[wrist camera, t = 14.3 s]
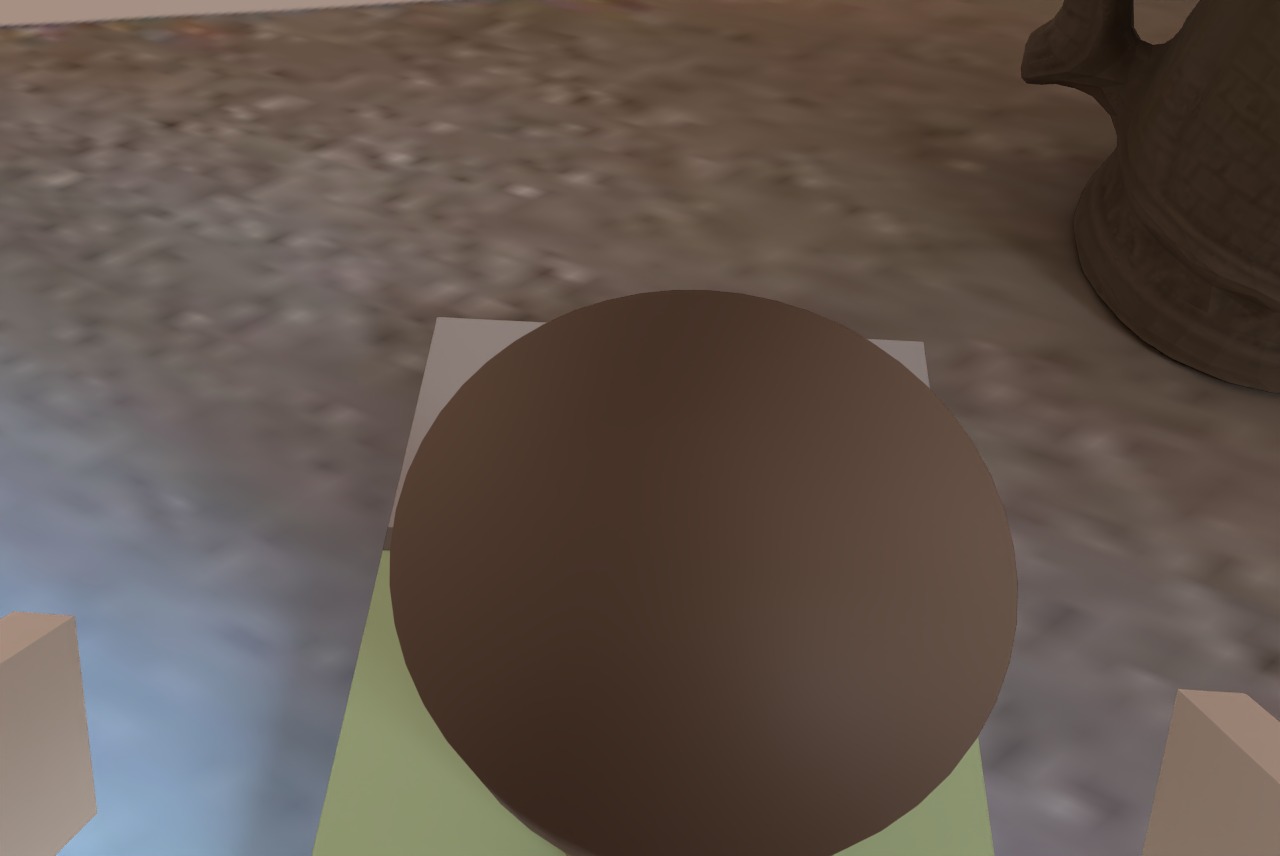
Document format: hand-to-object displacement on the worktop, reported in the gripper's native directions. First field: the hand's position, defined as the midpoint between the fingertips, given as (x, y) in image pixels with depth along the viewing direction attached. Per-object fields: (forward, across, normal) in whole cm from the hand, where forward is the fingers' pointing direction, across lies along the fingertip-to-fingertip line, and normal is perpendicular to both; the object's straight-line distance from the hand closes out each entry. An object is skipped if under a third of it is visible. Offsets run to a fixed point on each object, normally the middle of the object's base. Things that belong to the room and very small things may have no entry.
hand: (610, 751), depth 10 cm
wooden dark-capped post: (+7, +1, -5) cm, 9 cm away
